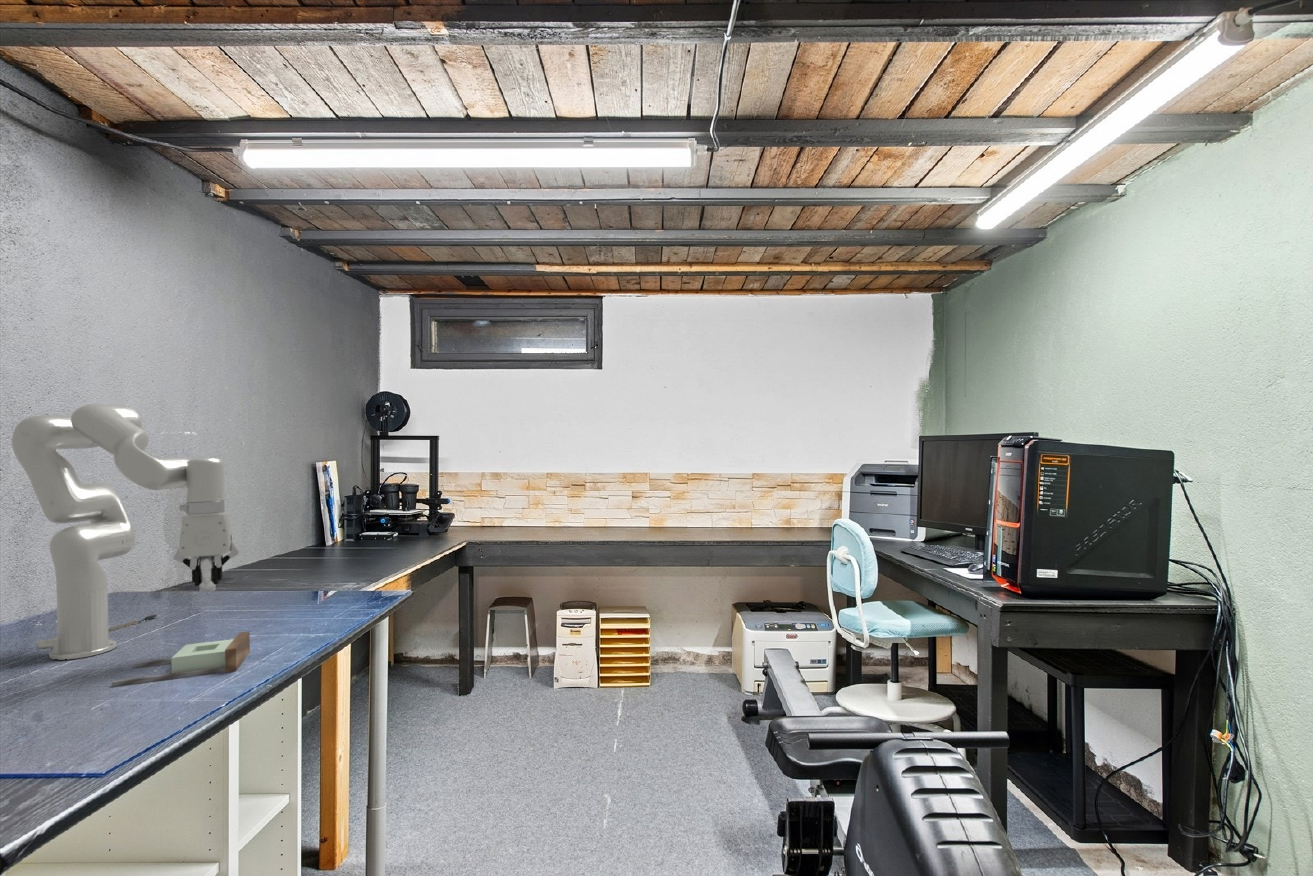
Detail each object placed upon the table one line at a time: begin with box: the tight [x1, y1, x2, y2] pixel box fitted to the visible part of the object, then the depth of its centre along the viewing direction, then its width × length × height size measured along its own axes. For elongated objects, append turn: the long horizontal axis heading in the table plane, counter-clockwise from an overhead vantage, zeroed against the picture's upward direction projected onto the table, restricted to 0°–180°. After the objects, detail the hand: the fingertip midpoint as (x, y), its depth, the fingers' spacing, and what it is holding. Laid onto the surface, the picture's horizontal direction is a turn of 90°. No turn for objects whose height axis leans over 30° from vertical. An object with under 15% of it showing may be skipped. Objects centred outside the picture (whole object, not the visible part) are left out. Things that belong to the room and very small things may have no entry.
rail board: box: [111, 631, 251, 688], centre depth 143 cm, size 26×14×6 cm, turn 112°
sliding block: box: [171, 638, 235, 674], centre depth 145 cm, size 10×10×4 cm
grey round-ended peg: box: [198, 556, 216, 593], centre depth 158 cm, size 3×3×10 cm
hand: (207, 583), depth 158 cm, fingers closed on grey round-ended peg, 3 cm apart
